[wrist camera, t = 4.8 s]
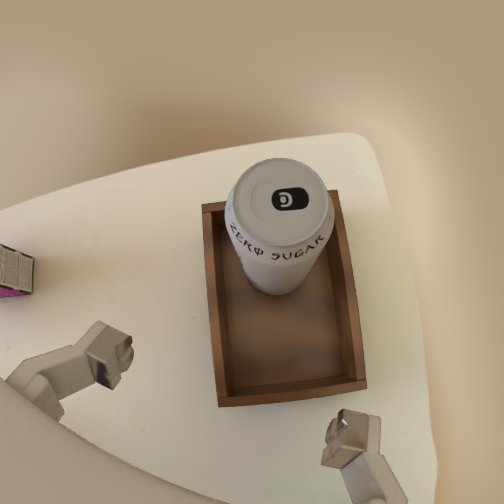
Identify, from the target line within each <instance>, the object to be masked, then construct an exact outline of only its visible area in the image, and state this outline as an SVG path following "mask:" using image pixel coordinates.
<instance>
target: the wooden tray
mask: <svg viewBox="0 0 504 504" xmlns="http://www.w3.org/2000/svg"><path fill="white" fill-rule="evenodd" d="M327 191H328V193H329V195H330V197H331V200H332V203H333V206H334V216H335V218H334V226H333V229H332V232H331V235H330V237H329V239H328V241H327V243H326V244H325V246H324V248H323V250H322V251H321V253H320V255H319V256H318V258H317V260H316V262H315V263H314V265H313V267H312V268H311V270H310V272H309V273H308V275H307V277H306V278H305V280H304V282H303V283H302V284H301V285H300V286H299V287H298V288H297V289H295V290H294V291H292V292H290V293H288V294H284V295H269V294H265V293H263V292H261V291H259V290H258V289H256V288H255V287H254V286H253V285H252V284H251V283H250V282H249V280H248V279H247V277H246V274H245V272H244V269H243V267H242V265H241V262H240V260H239V257H238V255H237V252H236V250H235V248H234V245H233V243H232V240H231V238H230V235H229V233H228V230H227V228H226V223H225V206H226V202H227V201H224V202H216V203H208V204H202V222H203V239H204V256H205V270H206V284H207V297H208V310H209V321H210V333H211V343H212V354H213V364H214V373H215V382H216V391H217V397H218V398H217V401H218V407H234V406H248V405H260V404H271V403H280V402H289V401H297V400H304V399H311V398H318V397H325V396H331V395H337V394H342V393H348V392H353V391H358V390H363V389H367V383H366V373H365V362H364V352H363V343H362V334H361V326H360V318H359V310H358V303H357V296H356V289H355V282H354V276H353V270H352V264H351V258H350V252H349V247H348V241H347V236H346V230H345V225H344V220H343V215H342V210H341V205H340V201H339V196H338V191H337V190H327Z"/></svg>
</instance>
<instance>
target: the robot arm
mask: <svg viewBox="0 0 504 504" xmlns="http://www.w3.org/2000/svg"><path fill="white" fill-rule="evenodd" d="M132 342H133V341H132V336H129V335H127V334H125V333H123V332H121V331H119V330H117V329H115V328H113V327H111V326H109V325H107V324H105V323H103V322H101V321H97V322H95V323H94V324H93V325H92V326H91V327H90V328H89V329H88V331H87V332H86V333H85V334H84V335H83V336H82V337H81V338H80V339H79V341H78V342H77V343H76V344H75V345H74V346H72V345H69V346H66V347H63V348H60V349H57V350H54V351H51V352H48V353H45V354H42V355H38V356H35V357H32V358H29V359H26V360H23V361H22V363H21V364H20V365H19V366H18V367H17V368H16V369H15V370H14V371H13V372H12V374H11V375H10V376H9V377H8V378H7V379H6V380H5V381H4V380H3V379H2V378H1V377H0V504H229V503H226V502H222V501H219V500H216V499H213V498H210V497H207V496H204V495H201V494H199V493H196V492H193V491H191V490H188V489H185V488H183V487H180V486H178V485H175V484H173V483H170V482H168V481H166V480H163V479H161V478H159V477H156V476H154V475H152V474H150V473H148V472H145V471H143V470H141V469H139V468H137V467H135V466H133V465H131V464H129V463H127V462H125V461H123V460H121V459H119V458H117V457H116V456H114V455H112V454H110V453H108V452H106V451H105V450H103V449H101V448H99V447H97V446H96V445H94V444H92V443H91V442H89V441H87V440H86V439H84V438H82V437H81V436H79V435H78V434H76V433H74V432H73V431H71V430H70V429H68V428H67V427H65V426H64V425H62V424H61V423H59V422H58V421H59V420H60V419H61V417H62V416H63V414H64V409H63V407H62V405H61V404H60V402H59V400H61V399H63V398H65V397H67V396H69V395H71V394H73V393H75V392H77V391H79V390H81V389H84V388H86V387H88V386H90V385H92V384H94V383H95V382H97V383H99V384H101V385H103V386H105V387H107V388H109V389H111V390H114V388H115V387H116V385H117V384H118V383H119V381H120V380H121V373H122V372H125V371H127V370H128V368H129V367H130V365H131V363H132V360H133V356H134V350H133V348H132V347H131V344H132ZM380 434H381V419H380V417H379V416H374V415H368V414H366V413H360V412H356V411H351V410H346V409H342V410H340V411H339V413H338V417H337V418H335V419H333V420H332V421H331V423H330V424H329V427H328V429H327V432H326V436H325V442H326V444H327V447H326V448H325V449H324V450H323V454H322V459H321V465H323V466H327V467H332V468H337V469H341V470H340V471H341V473H342V476H343V478H344V481H345V484H346V486H347V489H348V492H349V494H350V497H351V500H352V502H353V504H408V499H407V497H406V496H405V494H404V492H403V490H402V488H401V486H400V485H399V483H398V481H397V479H396V477H395V476H394V474H393V472H392V470H391V468H390V467H389V465H388V463H387V461H386V460H385V458H384V456H383V455H380Z"/></svg>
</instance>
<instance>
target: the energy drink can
mask: <svg viewBox="0 0 504 504" xmlns="http://www.w3.org/2000/svg"><path fill="white" fill-rule="evenodd" d="M334 218H335V216H334V206H333V203H332V200H331V197H330V195H329V193H328V191H327V189H326V187H325V185H324V183H323V181H322V179H321V178H320V177H319V176H318V175H317V173H316V172H315V171H313V170H312V169H311V168H310V167H308V166H307V165H305V164H303V163H301V162H298V161H296V160H293V159H287V158H272V159H267V160H264V161H261V162H258V163H256V164H255V165H253V166H251V167H250V168H249V169H247V170H246V171H245V172H244V173H243V174H242V176H241V177H240V178H239V179H238V181H237V183H236V184H235V186H234V187H233V188H232V190H231V192H230V194H229V196H228V198H227V202H226V206H225V223H226V228H227V230H228V233H229V235H230V238H231V240H232V243H233V245H234V248H235V250H236V252H237V255H238V257H239V260H240V262H241V265H242V267H243V269H244V272H245V274H246V277H247V279H248V280H249V282H250V283H251V284H252V285H253V286H254V287H255V288H256V289H258V290H259V291H261V292H263V293H265V294H269V295H284V294H288V293H290V292H292V291H294V290H295V289H297V288H298V287H299V286H300V285H301V284H302V283H303V282H304V280H305V278H306V277H307V275H308V273H309V272H310V270H311V268H312V267H313V265H314V263H315V262H316V260H317V258H318V256H319V255H320V253H321V251H322V250H323V248H324V246H325V244H326V243H327V241H328V239H329V237H330V235H331V232H332V229H333V226H334Z"/></svg>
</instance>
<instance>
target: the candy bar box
mask: <svg viewBox="0 0 504 504" xmlns="http://www.w3.org/2000/svg"><path fill="white" fill-rule="evenodd" d="M33 259H34V258H33V257H31V256H28V255H26V254H24V253H21V252H19V251H16V250H14V249H12V248H9V247H7V246H4V245H2V244H0V297H7V296H18V295H27V294H32V290H33Z"/></svg>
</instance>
